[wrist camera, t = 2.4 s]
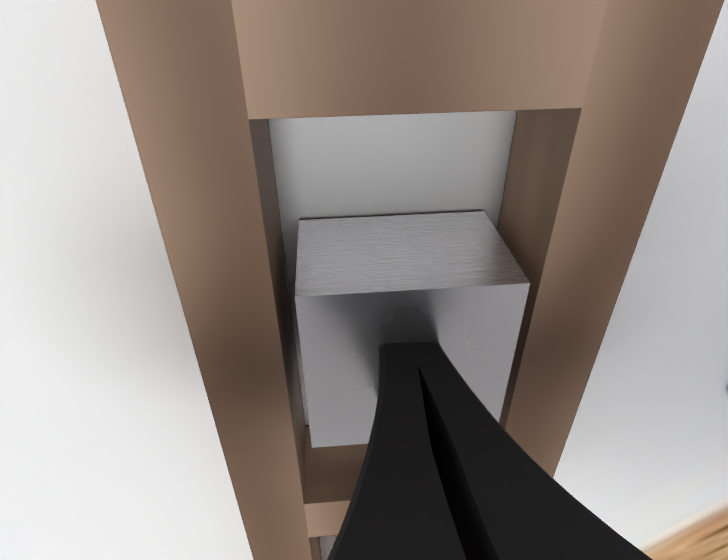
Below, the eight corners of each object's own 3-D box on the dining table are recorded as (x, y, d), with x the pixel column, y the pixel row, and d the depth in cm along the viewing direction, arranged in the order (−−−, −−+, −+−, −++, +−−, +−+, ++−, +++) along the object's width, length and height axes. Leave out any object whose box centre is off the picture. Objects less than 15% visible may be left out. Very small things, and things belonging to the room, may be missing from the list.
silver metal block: (484, 211, 13) (529, 283, 10) (464, 348, 16) (496, 433, 13) (298, 220, 13) (294, 296, 10) (312, 358, 16) (312, 447, 13)
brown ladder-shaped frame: (632, -32, 10) (732, -24, 8) (470, 600, 27) (485, 665, 25) (148, -24, 10) (92, -13, 7) (291, 618, 27) (289, 686, 24)
